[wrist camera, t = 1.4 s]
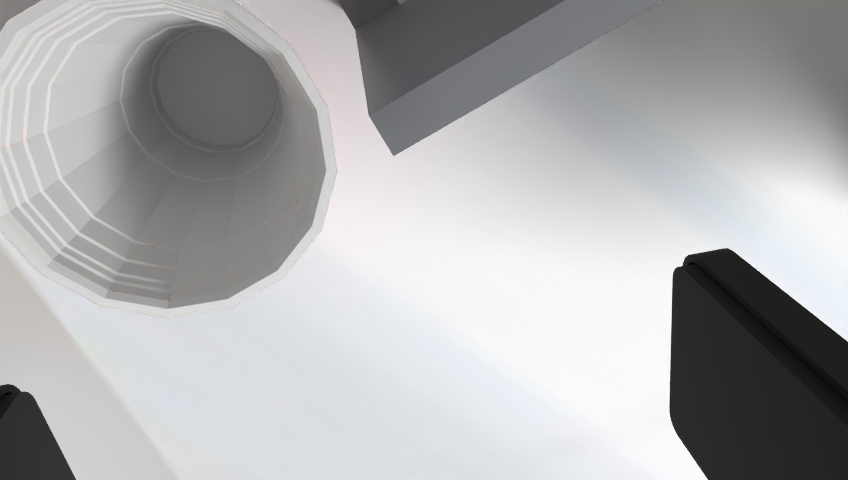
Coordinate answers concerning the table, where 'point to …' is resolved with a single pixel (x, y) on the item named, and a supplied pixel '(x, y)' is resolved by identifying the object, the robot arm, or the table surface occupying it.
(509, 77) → the equipment case
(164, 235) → the plastic cup
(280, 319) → the table surface
